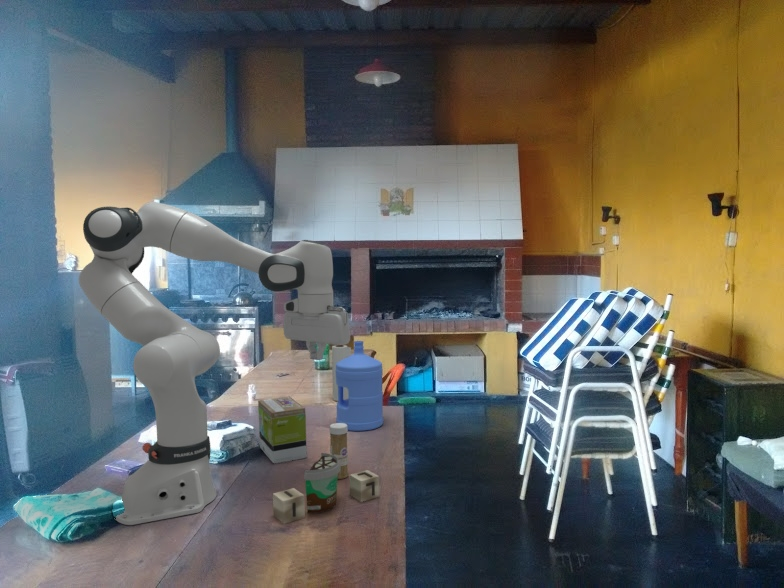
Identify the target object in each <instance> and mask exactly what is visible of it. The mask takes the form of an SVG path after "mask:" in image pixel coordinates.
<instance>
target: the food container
mask: <svg viewBox="0 0 784 588" xmlns="http://www.w3.org/2000/svg"><path fill="white" fill-rule="evenodd" d="M320 454H321V455H320V458H318V460H317V461H315V462H314V463H313V465H312V466H311V468H310V469H308V470H307V469H305V470H304V476H303V477H304V481H305V482H304V483H305V495H306V496H305V497H306V498H305V499H306V512H307V513H308V514H316V513H317V514H318V513H323V512H327V511H329V510H332V509H333V508H335V507H336V505H337V495H338V494H337V491H338V479H337V477H338V473H339V472H340V470H341V467H340V463H339V461H338V458H337V457H336V456H334V455H331V454H330V453H327V452H320Z"/></svg>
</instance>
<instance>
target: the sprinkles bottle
mask: <svg viewBox="0 0 784 588" xmlns="http://www.w3.org/2000/svg"><path fill="white" fill-rule="evenodd" d="M348 431H349V430H348V428H347V424H344V423H336V422H335V423H331V424H330V425H329V435H330V436H329V437H330V441H329V442H330V444H329V445H330V446H329V448H330V449H329V451H330V452H329V454H331V455H334V456H336V457H337V458H338V461H339V463H340V467H341V470H340V472H339V473H338V477H337V480H343V479H346V478H347V477H348V476H349V473H348V463H349V461H348V458H349V457H348V454H349V453H348Z"/></svg>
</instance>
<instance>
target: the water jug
mask: <svg viewBox="0 0 784 588" xmlns="http://www.w3.org/2000/svg"><path fill="white" fill-rule="evenodd" d="M353 344H354V346H353V349H354V350H353V353H352V354H351V356H349V357H347V358H345V359H343V360H341V361H339V362H337V364H336V384H337V385H338V401H337V403H336V418H335V419H336V422H335V423H344V424H347V428H348V431H352V432H366V431H370V430H372V431H373V430H375V429H377V428H379V427H381V426H382V425H383V424H384V415H383V414H384V413H383V412H384V409H383V408H384V407H383V400H384V392H383V372H384V371H383V364H382V362H381V360H378V359H376V358H374V357H372V356H369V355H367V354H365V352H364V341H362V340H356V341H353ZM343 387H346V388H347V389H348V398H349V399H346V400H343Z"/></svg>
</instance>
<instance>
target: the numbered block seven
mask: <svg viewBox="0 0 784 588" xmlns="http://www.w3.org/2000/svg"><path fill="white" fill-rule="evenodd" d="M349 495H350V497H352V496H353V497H352V498H353V499H356V500H357V501H359V502H360V503H363V501H364V502H366V501H370V500H373V499H377V498H379V497H380V476H379V475H378V474H376V473H374V472H372V471H371V470H368V469H366V470H362V471H359V472H354V473H352V474H349Z"/></svg>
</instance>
